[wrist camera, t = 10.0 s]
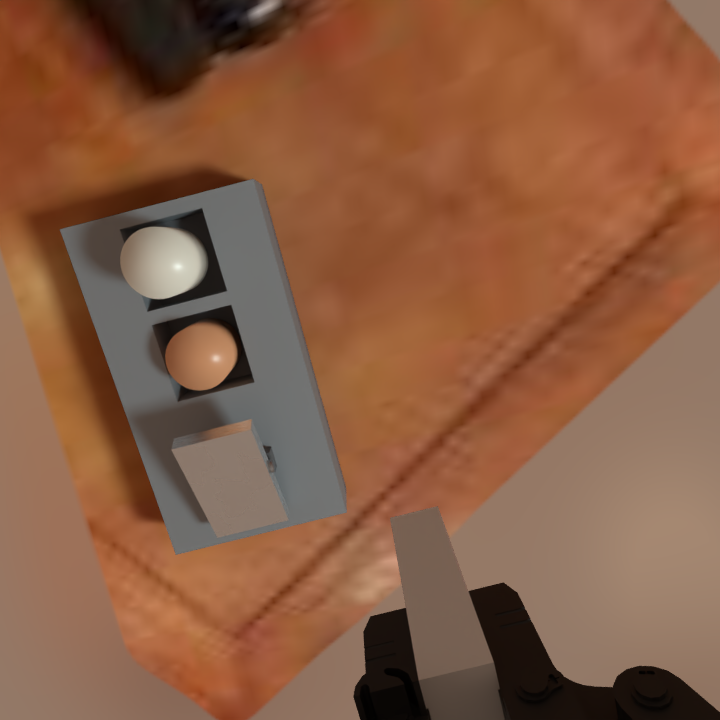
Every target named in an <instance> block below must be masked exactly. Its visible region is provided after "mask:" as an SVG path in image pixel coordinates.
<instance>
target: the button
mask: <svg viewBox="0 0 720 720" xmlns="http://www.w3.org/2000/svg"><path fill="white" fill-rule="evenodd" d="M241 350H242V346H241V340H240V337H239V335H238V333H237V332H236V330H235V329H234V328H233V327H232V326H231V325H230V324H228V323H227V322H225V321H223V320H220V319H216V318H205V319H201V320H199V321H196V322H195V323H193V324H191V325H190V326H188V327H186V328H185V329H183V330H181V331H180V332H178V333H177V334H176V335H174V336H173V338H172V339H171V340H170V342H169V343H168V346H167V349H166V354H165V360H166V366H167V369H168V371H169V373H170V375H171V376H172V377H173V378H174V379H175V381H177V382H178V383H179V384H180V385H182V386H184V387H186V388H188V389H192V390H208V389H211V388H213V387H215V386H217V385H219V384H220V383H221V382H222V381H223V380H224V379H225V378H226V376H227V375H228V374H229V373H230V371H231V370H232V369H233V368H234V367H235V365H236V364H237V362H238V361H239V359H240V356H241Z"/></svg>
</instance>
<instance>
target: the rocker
mask: <svg viewBox="0 0 720 720" xmlns="http://www.w3.org/2000/svg"><path fill="white" fill-rule="evenodd" d="M171 450H172V452H173V454H174V456H175V458H176V460H177V462H178V464H179V465H180V467H181V469H182V471H183V473H184V475H185V477H186V479H187V481H188V483H189V485H190V486H191V488H192V490H193V492H194V494H195V496H196V498H197V500H198V502H199V504H200V506H201V507H202V509H203V511H204V513H205V515H206V517H207V519H208V521H209V523H210V525H211V526H212V528H213V530H214V532H215V534H216V536H217V538H219V537H223V536H227V535H231V534H235V533H239V532H243V531H247V530H251V529H255V528H259V527H263V526H267V525H271V524H275V523H279V522H283V521H287V520H289V508H288V506H287V504H286V501H285V499H284V496H283V494H282V491H281V489H280V486H279V484H278V482H277V479H276V477H275V474H274V473H275V472H276V467H275V463H274V460H273V459H270V460H268V457H267V455H266V452H265V450H264V448H263V445H262V443H261V440H260V438H259V435H258V433H257V431H256V428H255V426H254V423H253V421H252V419H250V420H246V421H242V422H238V423H234V424H230V425H226V426H222V427H218V428H214V429H210V430H206V431H202V432H198V433H194V434H190V435H187V436H183V437H179V438H175V439H174V441H173V445H172V449H171Z"/></svg>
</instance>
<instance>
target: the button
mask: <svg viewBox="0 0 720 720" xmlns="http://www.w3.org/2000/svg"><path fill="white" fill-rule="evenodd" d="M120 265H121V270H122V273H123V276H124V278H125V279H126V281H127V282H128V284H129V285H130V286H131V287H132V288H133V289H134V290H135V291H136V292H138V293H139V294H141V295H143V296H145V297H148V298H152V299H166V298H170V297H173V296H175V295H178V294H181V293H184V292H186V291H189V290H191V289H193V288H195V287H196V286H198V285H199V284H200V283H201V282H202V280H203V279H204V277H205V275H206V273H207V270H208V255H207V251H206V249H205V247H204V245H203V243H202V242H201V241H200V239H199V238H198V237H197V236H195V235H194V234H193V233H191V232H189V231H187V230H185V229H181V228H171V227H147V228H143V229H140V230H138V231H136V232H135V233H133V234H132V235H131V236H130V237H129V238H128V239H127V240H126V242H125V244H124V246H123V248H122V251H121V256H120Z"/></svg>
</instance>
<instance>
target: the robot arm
mask: <svg viewBox="0 0 720 720" xmlns="http://www.w3.org/2000/svg"><path fill="white" fill-rule="evenodd" d="M390 520H391V526H392V532H393V537H394V543H395V549H396V554H397V560H398V566H399V571H400V577H401V583H402V588H403V594H404V599H405V605H406V608H403V609H399V610H395V611H391V612H387V613H383V614H379V615H374V616H371V617H370V619H369V621H368V623H367V626H366V628H365V630H364V648H365V662H366V663H365V667H366V674H365V675H363V676H362V677H361V679H360V680H359V682H358V683H357V685H356V686H355V691H354V700H355V703H356V707H357V710H358V713H359V717H360V719H361V720H720V712H719V711H718V710H716V709H715V708H714V707H713V706H712V705H711V704H709V703H708V702H707V701H706V700H705V699H704V698H702V697H701V696H700V695H699V694H698V693H697V692H695V691H694V690H693V689H692V688H691V687H689V686H688V685H687V684H686V683H685V682H684V681H682V680H681V679H680V678H679V677H677V676H675V675H674V674H672V673H670V672H669V671H667V670H664V669H660V668H657V667H652V666H637V667H633V668H630V669H626V670H625V671H624V672H622V673H621V674H620V675H618V676H617V678H616V680H615V682H614V685H613V687H594V686H586V685H582V684H578V683H575V682H573V681H571V680H569V679H567V678H565V677H564V676H563V675H562V674H561V672H559V671H557V670H556V668H555V667H554V665H553V664H552V662H551V660H550V658H549V656H548V654H547V652H546V649H545V647H544V646H543V643H542V641H541V639H540V637H539V635H538V633H537V631H536V629H535V627H534V625H533V623H532V622H531V620H530V617H529V615H528V613H527V611H526V610H525V607H524V605H523V603H522V601H521V599H520V597H519V595H518V593H517V592H516V591H514V590H513V589H511V588H510V587H509V586H507V585H506V584H505V583H500V584H496V585H492V586H487V587H483V588H480V589H475V590H471V591H468V589H467V586H466V584H465V581H464V578H463V575H462V572H461V570H460V567H459V564H458V561H457V559H456V556H455V553H454V550H453V548H452V545H451V542H450V539H449V536H448V533H447V531H446V528H445V525H444V522H443V520H442V517H441V514H440V511H439V508H438V506H437V507H433V508H429V509H424V510H420V511H416V512H412V513H408V514H404V515H400V516H396V517H392V518H390Z"/></svg>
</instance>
